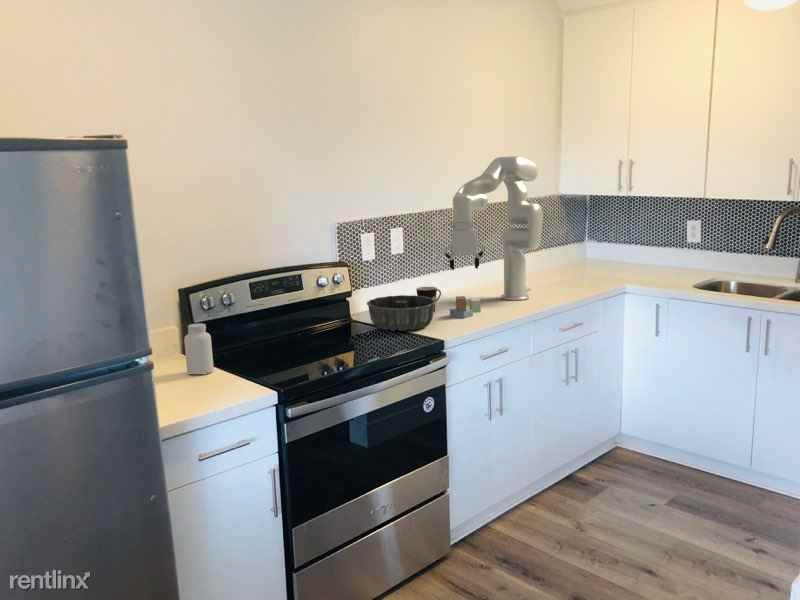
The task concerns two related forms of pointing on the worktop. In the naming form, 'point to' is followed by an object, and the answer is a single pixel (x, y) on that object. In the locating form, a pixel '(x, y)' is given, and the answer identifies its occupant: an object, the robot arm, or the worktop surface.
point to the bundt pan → (401, 312)
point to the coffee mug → (428, 293)
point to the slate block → (461, 313)
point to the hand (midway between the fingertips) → (464, 268)
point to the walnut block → (460, 303)
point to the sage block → (475, 304)
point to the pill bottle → (198, 350)
